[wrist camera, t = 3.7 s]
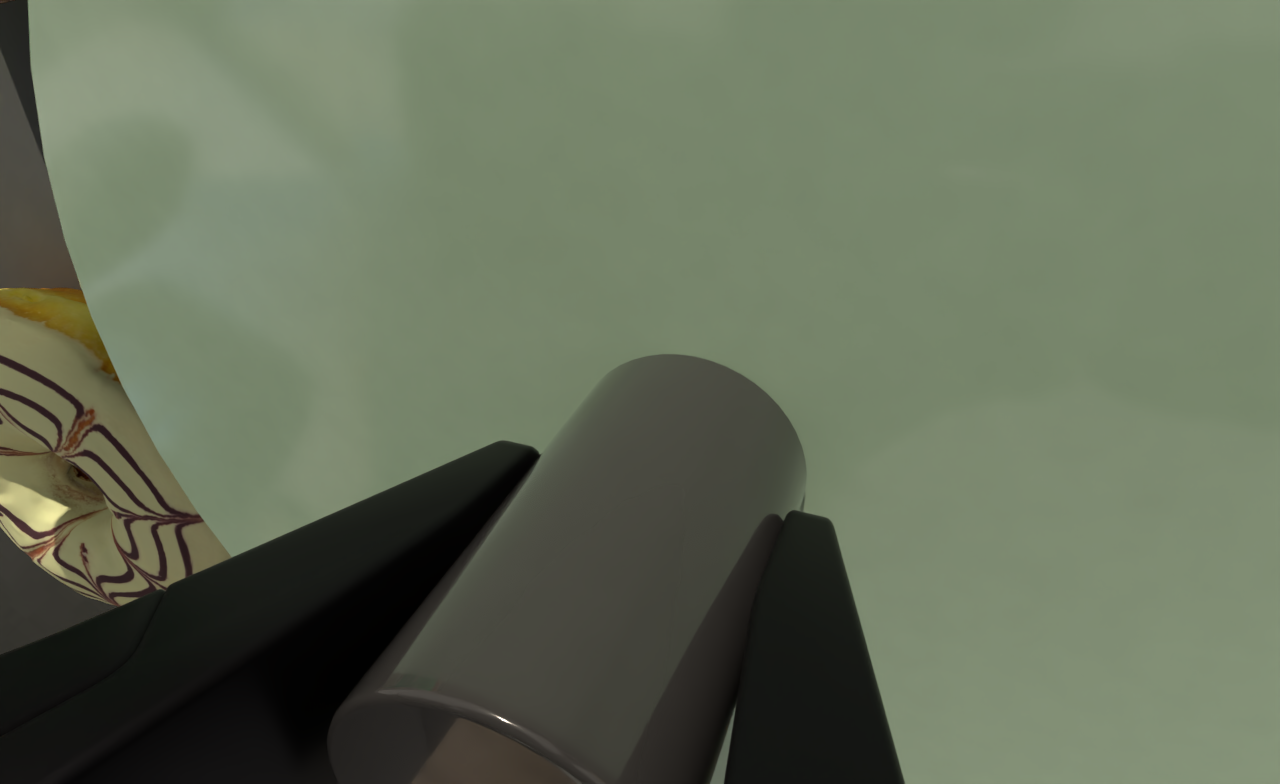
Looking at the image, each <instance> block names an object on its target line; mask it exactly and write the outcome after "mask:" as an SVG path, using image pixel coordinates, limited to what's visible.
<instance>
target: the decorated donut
mask: <svg viewBox="0 0 1280 784" xmlns="http://www.w3.org/2000/svg"><path fill="white" fill-rule="evenodd" d="M0 527H1V528H2V529H3V530H4V532H5V533H6V534H7V535H8V536H9V537H10V538H11V540H12V541H13V542H14V543H15V544H16V545H17V546H18V547H19V548H20V549H21V550H22V551H24V552H25V553H26V554H28V555H29V556H30V557H31V558H32V560H33V561H34V562H35V563H36V564H37V565H38V566H39V567H41V568H42V569H44V570H45V571H46V572H48V573H49V574H50V575H52V576H53V577H55V578H56V579H58V580H59V581H61V582H62V583H64V584H65V585H67V586H68V587H70V588H71V589H73V590H75V591H76V592H78V593H80V594H82V595H84V596H86V597H89V598H92V599H96V600H100V601H103V602H105V603H107V604H112V605H116V606H122V605H124V604H126V603H128V602H131V601H133V600H135V599H138V598H140V597H142V596H144V595H147V594H149V593H151V592H153V591H156V590H158V589H163V590H165V591H166V589H167V588H168V586H169V585H170V584H172V583H174V582H177V581H179V580H181V579H184V578H186V577H188V576H190V575H193V574H195V573H197V572H200V571H202V570H204V569H206V568H209V567H211V566H213V565H216V564H218V563H220V562H222V561H225V560H227V559H229V558H232V557H231V556H230V555H229V553H228V552H227V551H226V549H225V548H224V547H223V545H222V544H221V543H220V541H219V540H218V539H217V537H216V536H215V535H214V533H213V532H212V531H211V529H210V528H209V527H208V525H207V524H206V523H205V522H204V520H203V519H202V518H201V516H200V515H199V514H198V512H197V511H196V509H195V508H194V506H193V505H192V503H191V502H190V500H189V499H188V497H187V496H186V494H185V492H184V491H183V489H182V488H181V486H180V485H179V483H178V482H177V480H176V479H175V477H174V476H173V474H172V472H171V471H170V469H169V468H168V466H167V465H166V463H165V462H164V460H163V459H162V457H161V456H160V454H159V452H158V451H157V449H156V447H155V445H154V443H153V442H152V440H151V438H150V436H149V434H148V432H147V431H146V429H145V427H144V425H143V423H142V422H141V420H140V418H139V416H138V414H137V412H136V411H135V409H134V407H133V405H132V403H131V401H130V400H129V398H128V396H127V394H126V392H125V390H124V389H123V387H122V385H121V382H120V380H119V378H118V376H117V373H116V371H115V369H114V367H113V364H112V362H111V360H110V358H109V355H108V353H107V351H106V349H105V346H104V344H103V342H102V340H101V337H100V335H99V333H98V331H97V329H96V326H95V324H94V322H93V320H92V317H91V315H90V312H89V309H88V306H87V303H86V300H85V298H84V295H83V292H82V290H77V289H70V288H53V289H36V288H5V289H0Z"/></svg>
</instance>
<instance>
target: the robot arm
mask: <svg viewBox="0 0 1280 784" xmlns="http://www.w3.org/2000/svg"><path fill="white" fill-rule="evenodd" d="M539 455H540V454H539V452H538V450H537V449H535V448H534V447H532V446H528V445H524V444H520V443H516V442H512V441H507V440H500V441H497V442H494V443H492V444H490V445H487V446H485V447H483V448H480V449H478V450H476V451H474V452H471V453H469V454H467V455H464V456H462V457H460V458H458V459H455V460H453V461H451V462H449V463H446V464H444V465H442V466H439V467H437V468H435V469H433V470H430V471H428V472H426V473H423V474H421V475H419V476H417V477H414V478H412V479H410V480H407V481H405V482H403V483H401V484H398V485H396V486H394V487H391V488H389V489H387V490H385V491H382V492H380V493H378V494H375V495H373V496H371V497H369V498H366V499H364V500H362V501H360V502H357V503H355V504H353V505H350V506H348V507H346V508H344V509H341V510H339V511H337V512H334V513H332V514H330V515H328V516H325V517H323V518H321V519H318V520H316V521H314V522H312V523H309V524H307V525H305V526H302V527H300V528H298V529H296V530H293V531H291V532H289V533H286V534H284V535H282V536H280V537H277V538H275V539H273V540H270V541H268V542H266V543H264V544H261V545H259V546H257V547H254V548H252V549H250V550H248V551H245V552H243V553H241V554H238V555H236V556H234V557H232V558H229V559H227V560H225V561H222V562H220V563H218V564H216V565H213V566H211V567H209V568H206V569H204V570H202V571H200V572H197V573H195V574H193V575H190V576H188V577H186V578H184V579H181V580H179V581H177V582H174V583H172V584H170V585H169V586H168V588H167V589H166V591H165V590H163V589H158V590H156V591H153V592H151V593H149V594H147V595H144V596H142V597H140V598H138V599H135V600H133V601H131V602H128V603H126V604H124V605H122V606H119V607H117V608H115V609H112V610H110V611H107V612H105V613H103V614H100V615H98V616H96V617H93V618H91V619H88V620H86V621H84V622H81V623H79V624H76V625H74V626H72V627H69V628H67V629H65V630H62V631H60V632H57V633H55V634H53V635H50V636H48V637H45V638H43V639H40V640H37V641H35V642H32V643H30V644H27V645H24V646H22V647H19V648H17V649H14V650H11V651H9V652H6V653H4V654H1V655H0V784H337V782H336V779H335V777H334V774H333V772H332V770H331V767H330V763H329V759H328V755H327V735H328V729H329V726H330V723H331V720H332V718H333V715H334V713H335V711H336V710H337V708H338V707H339V706H340V705H341V703H342V702H343V701H344V700H345V698H346V697H347V696H348V695H349V693H350V692H351V691H352V690H353V688H354V687H355V686H356V685H357V683H358V682H359V681H360V680H361V678H362V677H363V676H364V675H365V673H366V672H367V671H368V670H369V668H370V667H371V666H372V665H373V663H374V662H375V661H376V660H377V658H378V657H379V656H380V654H381V653H382V652H383V651H384V649H385V648H386V647H387V646H388V644H389V643H390V642H391V641H392V639H393V638H394V637H395V636H396V634H397V633H398V632H399V631H400V629H401V628H402V627H403V626H404V624H405V623H406V622H407V621H408V619H409V618H410V617H411V616H412V614H413V613H414V612H415V611H416V609H417V608H418V607H419V606H420V604H421V603H422V602H423V601H424V599H425V598H426V597H427V596H428V594H429V593H430V592H431V591H432V589H433V588H434V587H435V586H436V584H437V583H438V582H439V581H440V579H441V578H442V577H443V576H444V574H445V573H446V572H447V571H448V569H449V568H450V567H451V566H452V564H453V563H454V562H455V561H456V559H457V558H458V557H459V556H460V554H461V553H462V552H463V551H464V549H465V548H466V547H467V546H468V544H469V543H470V542H471V541H472V539H473V538H474V537H475V535H476V534H477V533H478V532H479V530H480V529H481V528H482V527H483V525H484V524H485V523H486V522H487V520H488V519H489V518H490V517H491V515H492V514H493V513H494V512H495V510H496V509H497V508H498V507H499V505H500V504H501V503H502V502H503V500H504V499H505V498H506V497H507V495H508V494H509V493H510V492H511V490H512V489H513V488H514V487H515V485H516V484H517V483H518V482H519V480H520V479H521V478H522V477H523V475H524V474H525V473H526V472H527V470H528V469H529V468H530V467H531V465H532V464H533V463H534V462H535V460H536V459H537V458H538V457H539ZM724 784H905V781H904V777H903V774H902V770H901V767H900V763H899V759H898V756H897V752H896V749H895V745H894V741H893V738H892V734H891V730H890V727H889V723H888V720H887V716H886V712H885V709H884V705H883V701H882V698H881V694H880V691H879V687H878V683H877V680H876V676H875V673H874V669H873V665H872V662H871V658H870V654H869V651H868V647H867V644H866V640H865V636H864V633H863V629H862V626H861V622H860V618H859V615H858V611H857V607H856V604H855V600H854V597H853V593H852V589H851V586H850V582H849V578H848V575H847V571H846V568H845V564H844V560H843V557H842V553H841V550H840V546H839V542H838V539H837V535H836V531H835V528H834V525H833V523H832V521H831V520H830V519H828V518H826V517H823V516H819V515H814V514H810V513H806V512H802V511H798V510H792V511H790V512H789V513H788V514H787V515H786V517H785V519H784V522H783V524H782V527H781V529H780V532H779V534H778V537H777V539H776V542H775V544H774V547H773V549H772V552H771V554H770V557H769V559H768V562H767V564H766V567H765V569H764V572H763V574H762V577H761V579H760V582H759V584H758V587H757V590H756V593H755V596H754V600H753V604H752V609H751V614H750V620H749V626H748V633H747V639H746V645H745V652H744V658H743V664H742V671H741V677H740V683H739V690H738V696H737V702H736V709H735V715H734V722H733V728H732V734H731V741H730V747H729V753H728V760H727V766H726V772H725V779H724Z"/></svg>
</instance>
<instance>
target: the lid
mask: <svg viewBox="0 0 1280 784" xmlns="http://www.w3.org/2000/svg"><path fill="white" fill-rule="evenodd" d="M28 20H29V45H30V67H31V74H32V80H33V87H34V94H35V101H36V108H37V114H38V121H39V128H40V135H41V142H42V148H43V155H44V160H45V164H46V168H47V172H48V176H49V180H50V184H51V188H52V192H53V196H54V200H55V204H56V208H57V212H58V216H59V220H60V224H61V228H62V232H63V236H64V240H65V243H66V246H67V249H68V251H69V254H70V257H71V260H72V263H73V266H74V269H75V272H76V274H77V277H78V280H79V283H80V286H81V289H82V292H83V295H84V298H85V300H86V303H87V306H88V309H89V312H90V315H91V317H92V320H93V322H94V324H95V326H96V329H97V331H98V333H99V335H100V337H101V340H102V342H103V344H104V346H105V349H106V351H107V353H108V355H109V358H110V360H111V362H112V364H113V367H114V369H115V371H116V373H117V376H118V378H119V380H120V382H121V385H122V387H123V389H124V390H125V392H126V394H127V396H128V398H129V400H130V401H131V403H132V405H133V407H134V409H135V411H136V412H137V414H138V416H139V418H140V420H141V422H142V423H143V425H144V427H145V429H146V431H147V432H148V434H149V436H150V438H151V440H152V442H153V443H154V445H155V447H156V449H157V451H158V452H159V454H160V456H161V457H162V459H163V460H164V462H165V463H166V465H167V466H168V468H169V469H170V471H171V472H172V474H173V476H174V477H175V479H176V480H177V482H178V483H179V485H180V486H181V488H182V489H183V491H184V492H185V494H186V496H187V497H188V499H189V500H190V502H191V503H192V505H193V506H194V508H195V509H196V511H197V512H198V514H199V515H200V516H201V518H202V519H203V520H204V522H205V523H206V524H207V525H208V527H209V528H210V529H211V531H212V532H213V533H214V535H215V536H216V537H217V539H218V540H219V541H220V543H221V544H222V545H223V547H224V548H225V549H226V551H227V552H228V553H229V555H230V556H231V557H234V556H236V555H238V554H241V553H243V552H245V551H248V550H250V549H252V548H254V547H257V546H259V545H261V544H264V543H266V542H268V541H270V540H273V539H275V538H277V537H280V536H282V535H284V534H286V533H289V532H291V531H293V530H296V529H298V528H300V527H302V526H305V525H307V524H309V523H312V522H314V521H316V520H318V519H321V518H323V517H325V516H328V515H330V514H332V513H334V512H337V511H339V510H341V509H344V508H346V507H348V506H350V505H353V504H355V503H357V502H360V501H362V500H364V499H366V498H369V497H371V496H373V495H375V494H378V493H380V492H382V491H385V490H387V489H389V488H391V487H394V486H396V485H398V484H401V483H403V482H405V481H407V480H410V479H412V478H414V477H417V476H419V475H421V474H423V473H426V472H428V471H430V470H433V469H435V468H437V467H439V466H442V465H444V464H446V463H449V462H451V461H453V460H455V459H458V458H460V457H462V456H464V455H467V454H469V453H471V452H474V451H476V450H478V449H480V448H483V447H485V446H487V445H490V444H492V443H494V442H497V441H500V440H507V441H512V442H516V443H520V444H524V445H528V446H532V447H534V448H535V449H537V450H538V452H539V454H540V455H539V457H538V458H537V459H536V460H535V462H534V463H533V464H532V465H531V467H530V468H529V469H528V470H527V472H526V473H525V474H524V475H523V477H522V478H521V479H520V480H519V482H518V483H517V484H516V485H515V487H514V488H513V489H512V490H511V492H510V493H509V494H508V495H507V497H506V498H505V499H504V500H503V502H502V503H501V504H500V505H499V507H498V508H497V509H496V510H495V512H494V513H493V514H492V515H491V517H490V518H489V519H488V520H487V522H486V523H485V524H484V525H483V527H482V528H481V529H480V530H479V532H478V533H477V534H476V535H475V537H474V538H473V539H472V541H471V542H470V543H469V544H468V546H467V547H466V548H465V549H464V551H463V552H462V553H461V554H460V556H459V557H458V558H457V559H456V561H455V562H454V563H453V564H452V566H451V567H450V568H449V569H448V571H447V572H446V573H445V574H444V576H443V577H442V578H441V579H440V581H439V582H438V583H437V584H436V586H435V587H434V588H433V589H432V591H431V592H430V593H429V594H428V596H427V597H426V598H425V599H424V601H423V602H422V603H421V604H420V606H419V607H418V608H417V609H416V611H415V612H414V613H413V614H412V616H411V617H410V618H409V619H408V621H407V622H406V623H405V624H404V626H403V627H402V628H401V629H400V631H399V632H398V633H397V634H396V636H395V637H394V638H393V639H392V641H391V642H390V643H389V644H388V646H387V647H386V648H385V649H384V651H383V652H382V653H381V654H380V656H379V657H378V658H377V660H376V661H375V662H374V663H373V665H372V666H371V667H370V668H369V670H368V671H367V672H366V673H365V675H364V676H363V677H362V678H361V680H360V681H359V682H358V683H357V685H356V686H355V687H354V688H353V690H352V691H351V692H350V693H349V695H348V696H347V697H346V698H345V700H344V701H343V702H342V703H341V705H340V706H339V707H338V708H337V710H336V711H335V713H334V715H333V718H332V720H331V723H330V726H329V729H328V735H327V755H328V759H329V763H330V767H331V770H332V772H333V774H334V777H335V779H336V782H337V784H724V779H725V772H726V766H727V760H728V753H729V747H730V741H731V734H732V728H733V722H734V715H735V709H736V702H737V696H738V690H739V683H740V677H741V671H742V664H743V658H744V652H745V645H746V639H747V633H748V626H749V620H750V614H751V609H752V604H753V600H754V596H755V593H756V590H757V587H758V584H759V582H760V579H761V577H762V574H763V572H764V569H765V567H766V564H767V562H768V559H769V557H770V554H771V552H772V549H773V547H774V544H775V542H776V539H777V537H778V534H779V532H780V529H781V527H782V524H783V522H784V519H785V517H786V515H787V514H788V513H789V512H790V511H792V510H798V511H802V512H806V513H810V514H814V515H819V516H823V517H826V518H828V519H830V520H831V521H832V523H833V525H834V528H835V531H836V535H837V539H838V542H839V546H840V550H841V553H842V557H843V560H844V564H845V568H846V571H847V575H848V578H849V582H850V586H851V589H852V593H853V597H854V600H855V604H856V607H857V611H858V615H859V618H860V622H861V626H862V629H863V633H864V636H865V640H866V644H867V647H868V651H869V654H870V658H871V662H872V665H873V669H874V673H875V676H876V680H877V683H878V687H879V691H880V694H881V698H882V701H883V705H884V709H885V712H886V716H887V720H888V723H889V727H890V730H891V734H892V738H893V741H894V745H895V749H896V752H897V756H898V759H899V763H900V767H901V770H902V774H903V777H904V781H905V784H1280V0H28Z"/></svg>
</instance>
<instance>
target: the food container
mask: <svg viewBox="0 0 1280 784" xmlns="http://www.w3.org/2000/svg"><path fill="white" fill-rule="evenodd" d="M10 1H14V0H0V4H1V3H5V2H10Z"/></svg>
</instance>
